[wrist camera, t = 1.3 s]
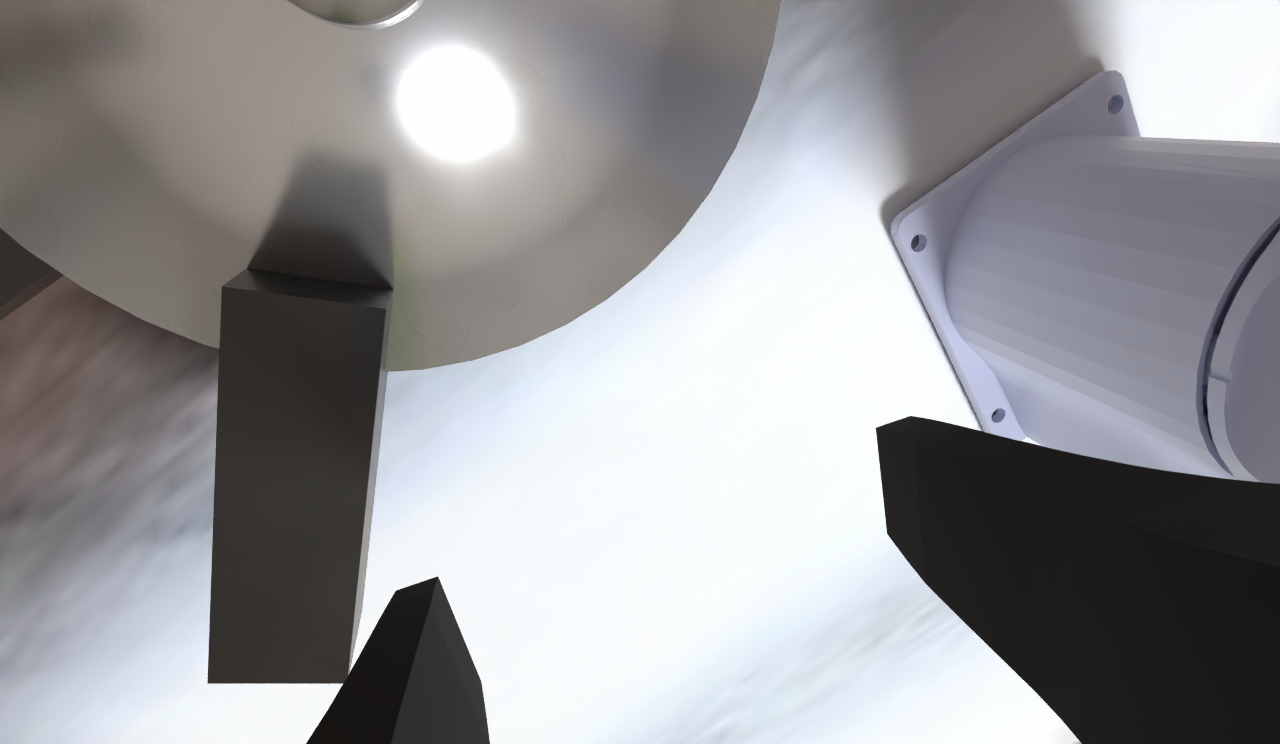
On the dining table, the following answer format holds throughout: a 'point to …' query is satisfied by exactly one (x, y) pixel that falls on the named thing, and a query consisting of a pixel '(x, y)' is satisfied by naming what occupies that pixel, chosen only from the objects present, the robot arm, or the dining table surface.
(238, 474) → the cooker lid
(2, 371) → the dining table surface
